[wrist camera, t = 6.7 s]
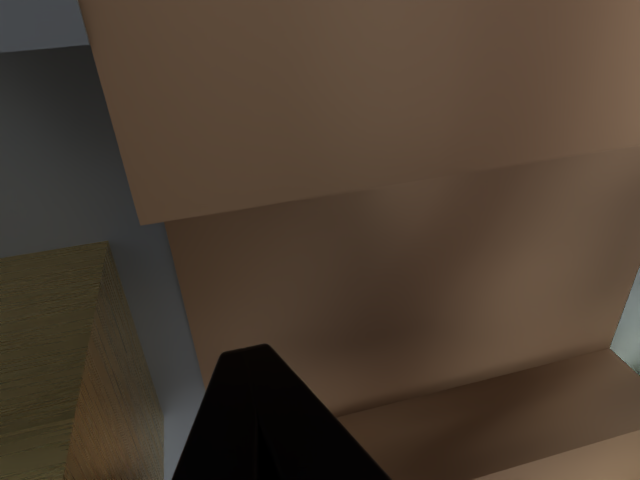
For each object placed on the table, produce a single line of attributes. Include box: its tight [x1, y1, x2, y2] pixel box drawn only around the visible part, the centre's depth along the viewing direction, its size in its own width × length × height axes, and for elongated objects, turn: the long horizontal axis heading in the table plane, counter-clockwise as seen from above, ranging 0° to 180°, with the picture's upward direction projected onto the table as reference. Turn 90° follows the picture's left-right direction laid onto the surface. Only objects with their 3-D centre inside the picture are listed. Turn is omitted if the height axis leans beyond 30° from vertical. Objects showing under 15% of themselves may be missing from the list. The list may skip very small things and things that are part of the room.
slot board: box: [78, 0, 640, 480], centre depth 9 cm, size 10×12×2 cm
